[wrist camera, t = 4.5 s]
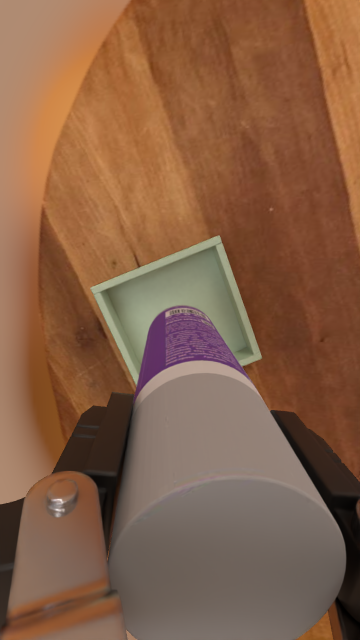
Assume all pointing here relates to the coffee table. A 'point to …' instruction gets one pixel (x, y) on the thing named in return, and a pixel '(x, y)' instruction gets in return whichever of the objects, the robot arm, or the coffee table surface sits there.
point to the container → (215, 502)
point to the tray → (177, 300)
